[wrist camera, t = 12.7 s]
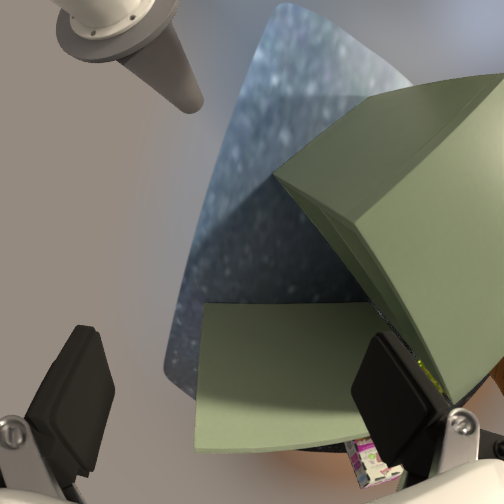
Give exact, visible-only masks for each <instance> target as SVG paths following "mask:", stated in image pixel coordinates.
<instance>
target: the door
mask: <svg viewBox="0 0 504 504" xmlns="http://www.w3.org/2000/svg"><path fill="white" fill-rule="evenodd" d="M384 331H392V329H391V328H390V327H389V326H388V324H387V323H386V322H385V321H384V320H383V318H382V317H381V316H380V315H379V314H378V312H377V311H376V310H375V309H374V308H373V306H372V305H371V304H370V303H369V302H353V303H319V304H228V303H204V309H203V319H202V330H201V342H200V354H199V367H198V381H197V396H196V413H195V414H196V415H195V434H194V450H195V453H258V452H274V451H285V450H294V449H303V448H310V447H317V446H323V445H329V444H335V443H340V442H345V441H350V440H355V439H359V438H364V437H368V436H370V434H369V432H368V430H367V428H366V426H365V423H364V421H363V419H362V417H361V415H360V413H359V411H358V408H357V406H356V404H355V402H354V400H353V398H352V395H351V386H352V384H353V382H354V379H355V377H356V375H357V373H358V370H359V368H360V365H361V363H362V361H363V358H364V356H365V353H366V351H367V348H368V346H369V343H370V340H371V338H372V337H374V336H375V334H376V333H377V332H384ZM395 335H396V334H395ZM399 340H400V339H399ZM400 341H401V340H400ZM402 344H403V343H402ZM403 345H404V344H403ZM406 349H407V348H406ZM407 350H408V349H407ZM409 353H410V352H409ZM410 354H411V353H410ZM411 355H412V354H411ZM413 358H414V357H413ZM414 359H415V358H414ZM416 362H417V361H416ZM417 363H418V362H417ZM418 364H419V363H418ZM419 366H420V365H419ZM420 367H421V366H420ZM421 368H422V367H421ZM422 370H423V369H422ZM423 371H424V370H423ZM424 372H425V371H424ZM425 374H426V373H425ZM426 375H427V374H426ZM427 376H428V375H427ZM428 378H429V377H428ZM429 379H430V378H429ZM430 380H431V379H430ZM431 382H432V381H431ZM432 383H433V382H432ZM433 385H434V383H433ZM434 386H435V385H434ZM435 387H436V386H435ZM436 389H437V387H436ZM437 390H438V389H437ZM438 391H439V390H438ZM439 393H440V391H439ZM440 394H441V393H440ZM441 396H442V397H443V395H442V394H441ZM443 398H444V397H443ZM444 400H445V398H444ZM445 401H446V400H445ZM446 403H447V404H448V402H447V401H446ZM448 405H449V404H448ZM449 406H450V405H449Z"/></svg>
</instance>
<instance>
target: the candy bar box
mask: <svg viewBox="0 0 504 504" xmlns="http://www.w3.org/2000/svg"><path fill="white" fill-rule="evenodd" d="M343 443H344V446H345V448H346V451H347V453H348V456H349V459H350V461H351V464H352V467H353V469H354V472H355V474H356V477H357V480H358V483H359V486H360V488H361V489H363V488H367V487H371V486H375V485H378V484H381V483H384V482H388V481H391V480H394V479H396V478H397V477H398V476H399V475H401V474H402V472H403V467H402V465H398V466H395V467H392V468H390V469H388V467H387V465H386V463H383V462H382V461H381V459H380V457H379V454H378V452H377V450H376V448H375V445H374V443H373V441H372V439H371V437H370V436H368V437H364V438H359V439H355V440H350V441H345V442H343Z"/></svg>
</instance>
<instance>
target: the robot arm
mask: <svg viewBox="0 0 504 504" xmlns="http://www.w3.org/2000/svg"><path fill="white" fill-rule="evenodd" d="M51 1H53V2H54V3H56V4H57V5H58V6H60V7H61V8H62V9H64V10H65V11H66V12H68V13H69V14H70V24H71V27H72V29H73V30H74V32H75V33H76V34H78V35H79V36H81V37H83V38H85V39H88V40H103V39H108V38H111V37H114V36H117V35H119V34H121V33H123V32H125V31H127V30H128V29H130V28H132V27H133V26H134V25H135V24H137V23H138V22H139V21H140V20H141V19H142V18H143V17H144V16H145V15H146V14H147V13H148V11H149V10H150V9H151V7H152V5H153V4H154V2H155V0H51ZM133 19H134V20H133ZM114 395H115V386H114V383H113V379H112V376H111V373H110V370H109V366H108V363H107V359H106V356H105V352H104V348H103V345H102V341H101V337H100V334H99V332H96V331H95V329H94V327H91V326H84V325H77V326H76V327H75V329H74V330H73V332H72V333H71V335H70V337H69V339H68V340H67V342H66V343H65V345H64V347H63V348H62V350H61V352H60V353H59V355H58V357H57V359H56V360H55V361H54V362H53V363H52V365H51V367H50V368H49V370H48V372H47V374H46V376H45V377H44V379H43V381H42V383H41V385H40V387H39V389H38V391H37V392H36V395H35V397H34V398H33V401H32V403H31V404H30V406H29V408H28V411H27V413H26V415H25V417H24V419H23V418H22V417H20V416H16V415H8V416H5V417H3V418H1V419H0V504H86V502H85V500H84V498H83V497H82V495H81V493H80V492H79V490H78V488H77V486H76V485H75V480H76V476H77V475H80V476H83V477H86V478H88V476H89V472H93V471H94V469H95V465H96V461H97V457H98V452H99V449H100V445H101V441H102V437H103V434H104V430H105V426H106V423H107V419H108V416H109V412H110V409H111V405H112V402H113V399H114ZM351 395H352V398H353V400H354V402H355V404H356V406H357V408H358V411H359V413H360V415H361V417H362V419H363V421H364V423H365V426H366V428H367V430H368V432H369V434H370V437H371V439H372V441H373V443H374V445H375V448H376V450H377V452H378V454H379V457H380V459H381V461H382V462H383V463H386V465H387V467H388V469H390V468H392V467H395V466H398V465H401V463H402V465H403V467H404V469H403V472H402V476H401V478H400V481H399V484H398V487H397V489H396V492H395V493H393V494H390V495H388V496H385V497H382V498H379V499H376V500H373V501H370V502H367V503H364V504H504V436H502V435H499V434H496V433H492V432H489V431H486V430H483V429H480V426H479V421H478V419H477V417H476V416H475V415H474V414H473V413H472V412H470V411H469V410H467V409H464V408H455V409H453V410H451V412H450V413H449V414H448V412H447V409H448V408H449V405H448V404H447V403H446V401H445V400H444V398H443V397H442V396H441V394H440V393H439V391H438V390H437V389H436V387H435V386H434V385H433V383H432V382H431V380H430V379H429V378H428V376H427V375H426V374H425V372H424V371H423V370H422V368H421V367H420V366H419V364H418V363H417V362H416V360H415V359H414V358H413V356H412V355H411V354H410V353H409V351H408V350H407V349H406V347H405V346H404V345H403V344H402V342H401V341H400V340H399V338H398V337H397V336H396V335H395V333H394V332H393V331H384V332H377V333H376V334H375V336H374V337H372V338H371V340H370V343H369V346H368V348H367V351H366V353H365V356H364V358H363V361H362V363H361V365H360V368H359V370H358V373H357V375H356V377H355V379H354V382H353V384H352V386H351Z"/></svg>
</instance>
